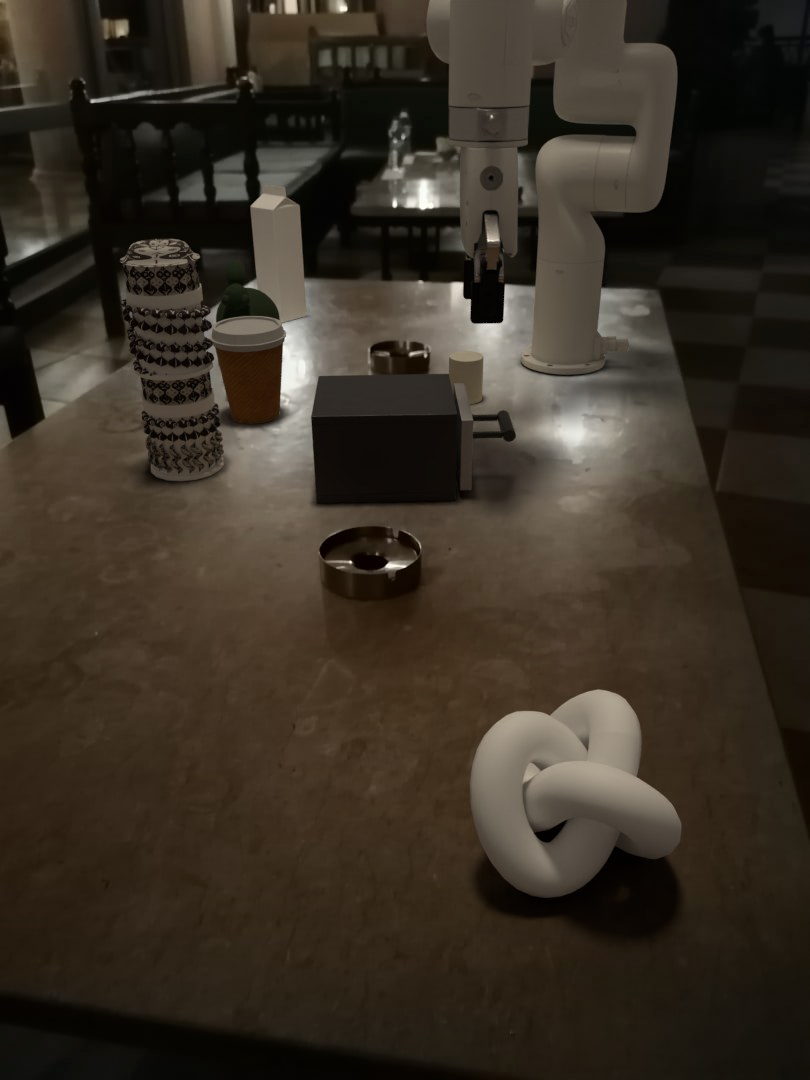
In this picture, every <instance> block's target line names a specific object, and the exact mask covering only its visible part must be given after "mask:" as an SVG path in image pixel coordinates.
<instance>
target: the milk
mask: <svg viewBox="0 0 810 1080" xmlns="http://www.w3.org/2000/svg"><path fill="white" fill-rule="evenodd" d="M261 188H262V189H261V191H262V194H261V195H260V196H259V197H258V198H256V200H255V201H254V202H253V203H252V204H251V205H250V207H249V209H250V218H251V219H250V220H251V229H252V230H251V231H252V241H253V254H254V265H255V266H254V267H255V275H256V277H255V278H256V287H257V288H256V289H257V290H260V291H261V292H263V293H265V294H266V295H267V296H268V297H270V298H271V300H272V301H273V302H274V303H275V305H276V307H277V309H278V312H279V318H280V321H281V323H282V324H283V323H285V322H290V321H293V320H297V319H300V318H304V317H307V300H306V286H305V285H306V284H305V269H304V253H303V252H304V251H303V238H302V237H303V236H302V222H301V205H300V204H299V203H296V202H295V201H293V200H291V199H290V198H289V197H287V193H286V192H287V191H286V187H285V186H279V185H270V184H261Z"/></svg>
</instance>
